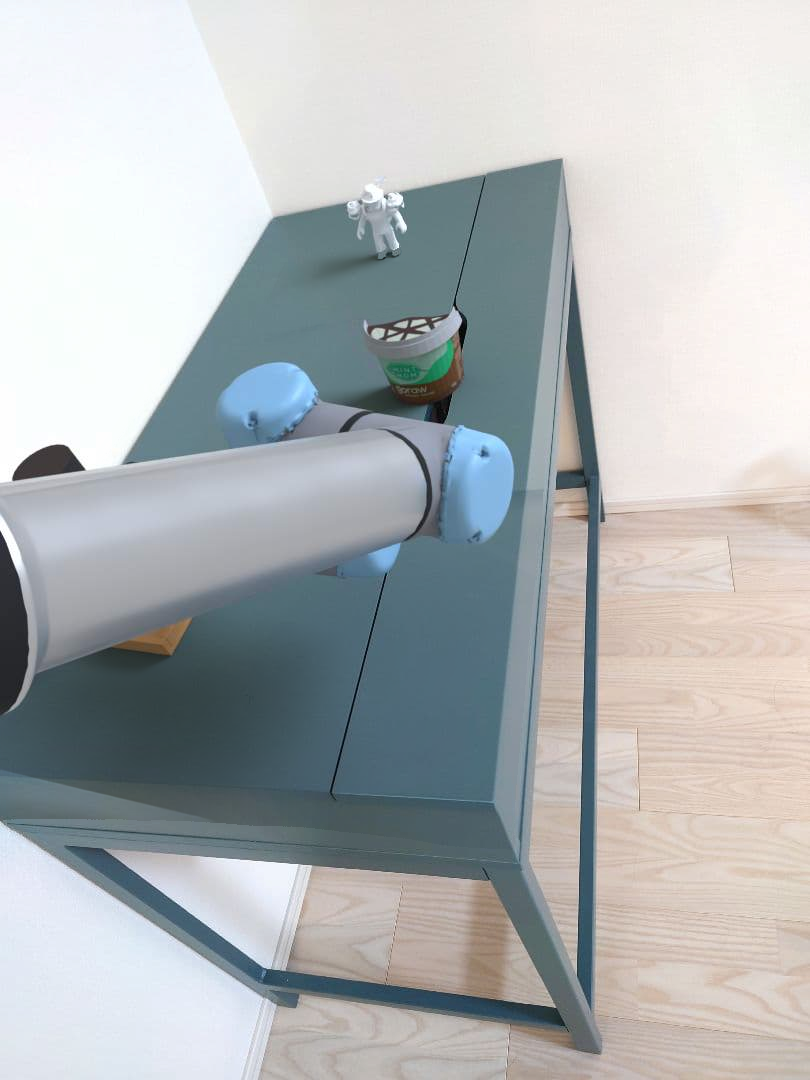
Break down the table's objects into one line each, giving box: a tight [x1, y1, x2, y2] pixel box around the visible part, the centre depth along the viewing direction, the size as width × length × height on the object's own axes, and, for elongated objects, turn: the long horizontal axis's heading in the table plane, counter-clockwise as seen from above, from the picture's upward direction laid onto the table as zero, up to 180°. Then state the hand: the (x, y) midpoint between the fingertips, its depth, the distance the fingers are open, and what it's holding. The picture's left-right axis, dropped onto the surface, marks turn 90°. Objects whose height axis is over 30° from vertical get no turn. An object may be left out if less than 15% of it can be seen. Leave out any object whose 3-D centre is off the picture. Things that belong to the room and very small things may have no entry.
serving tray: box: [110, 617, 194, 656], centre depth 89 cm, size 13×13×2 cm
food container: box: [362, 305, 465, 406], centre depth 98 cm, size 12×6×10 cm, turn 80°
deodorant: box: [11, 443, 87, 481], centre depth 80 cm, size 6×6×15 cm
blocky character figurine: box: [346, 174, 408, 253], centre depth 124 cm, size 9×4×12 cm, turn 81°
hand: (45, 514), depth 82 cm, fingers closed on deodorant, 6 cm apart
